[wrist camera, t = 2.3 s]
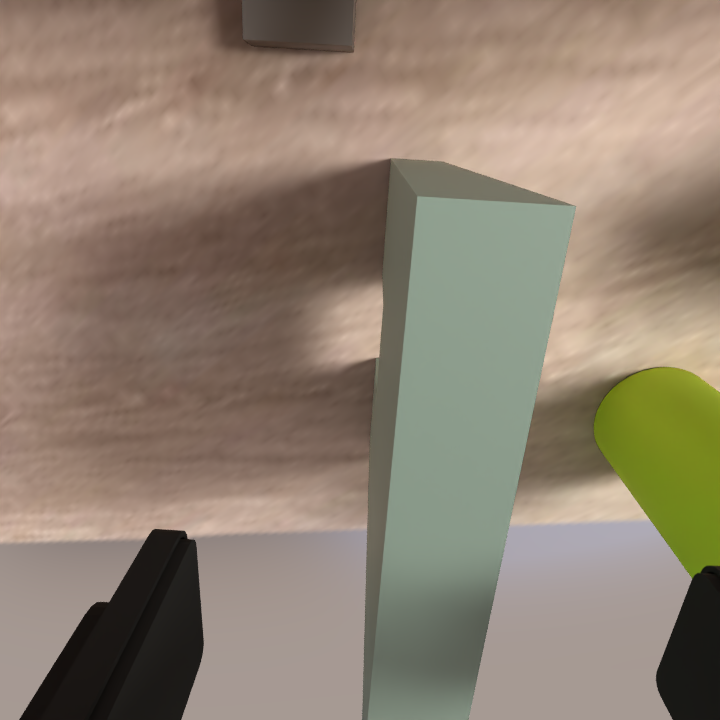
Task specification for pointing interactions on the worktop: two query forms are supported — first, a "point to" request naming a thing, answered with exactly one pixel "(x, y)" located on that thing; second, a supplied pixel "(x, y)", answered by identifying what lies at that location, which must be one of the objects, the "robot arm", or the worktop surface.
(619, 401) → the soap dispenser
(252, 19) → the walnut slotted board
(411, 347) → the sage slotted plate
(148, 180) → the worktop surface
